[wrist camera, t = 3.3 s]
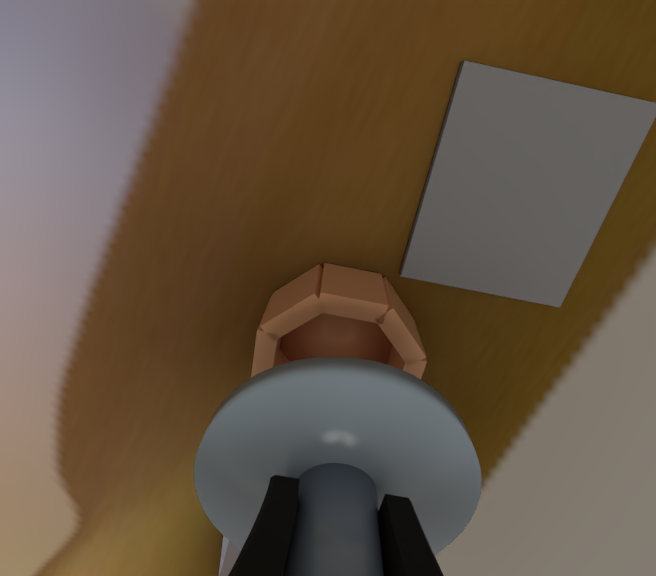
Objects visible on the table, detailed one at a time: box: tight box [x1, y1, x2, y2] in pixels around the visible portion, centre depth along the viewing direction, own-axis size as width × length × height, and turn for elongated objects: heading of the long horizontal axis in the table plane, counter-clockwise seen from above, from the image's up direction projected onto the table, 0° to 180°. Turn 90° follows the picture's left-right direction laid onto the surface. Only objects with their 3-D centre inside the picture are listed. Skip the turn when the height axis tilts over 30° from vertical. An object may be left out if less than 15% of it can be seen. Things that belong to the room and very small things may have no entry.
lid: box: [194, 356, 482, 576], centre depth 9 cm, size 8×8×4 cm
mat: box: [400, 61, 656, 307], centre depth 15 cm, size 8×7×1 cm
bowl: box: [251, 263, 427, 379], centre depth 17 cm, size 7×7×3 cm
